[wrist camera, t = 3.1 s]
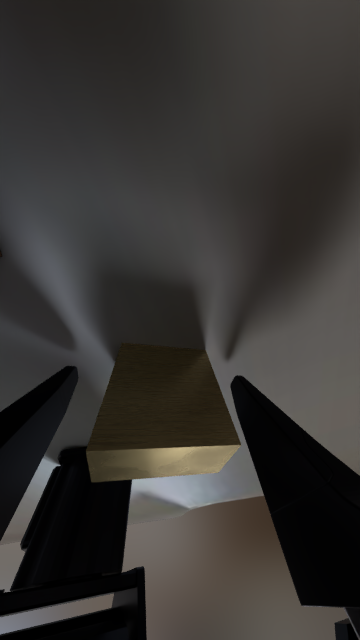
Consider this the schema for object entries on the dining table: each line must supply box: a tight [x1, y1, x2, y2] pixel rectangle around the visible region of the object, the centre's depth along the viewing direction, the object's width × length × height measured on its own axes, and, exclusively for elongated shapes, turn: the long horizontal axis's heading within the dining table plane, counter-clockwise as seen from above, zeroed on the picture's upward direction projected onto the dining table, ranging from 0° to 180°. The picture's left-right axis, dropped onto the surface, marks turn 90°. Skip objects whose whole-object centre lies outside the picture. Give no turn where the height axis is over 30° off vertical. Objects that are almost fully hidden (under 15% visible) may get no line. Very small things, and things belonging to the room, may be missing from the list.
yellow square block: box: [86, 343, 241, 482], centre depth 8 cm, size 5×2×5 cm, turn 78°
